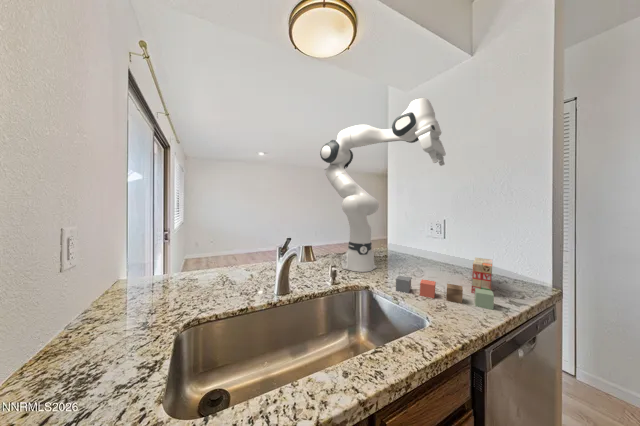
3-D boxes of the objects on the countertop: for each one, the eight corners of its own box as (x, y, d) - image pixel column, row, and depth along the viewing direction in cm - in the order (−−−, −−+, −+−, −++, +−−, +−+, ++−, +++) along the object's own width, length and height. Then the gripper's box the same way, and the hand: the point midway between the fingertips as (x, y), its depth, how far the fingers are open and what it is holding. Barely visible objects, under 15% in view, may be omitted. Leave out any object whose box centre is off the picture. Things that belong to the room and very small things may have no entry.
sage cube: (475, 306, 83) (476, 292, 82) (474, 301, 87) (475, 288, 87) (493, 310, 80) (493, 295, 80) (491, 304, 84) (491, 290, 84)
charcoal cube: (395, 291, 96) (396, 278, 96) (398, 287, 100) (398, 275, 100) (408, 293, 93) (409, 281, 93) (410, 289, 98) (411, 277, 97)
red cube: (419, 295, 91) (420, 282, 91) (421, 291, 96) (421, 279, 95) (434, 298, 89) (434, 285, 89) (435, 294, 93) (435, 281, 93)
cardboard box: (475, 279, 112) (476, 253, 111) (491, 282, 108) (493, 255, 108) (471, 293, 95) (472, 262, 94) (490, 297, 91) (492, 265, 91)
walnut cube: (446, 300, 87) (446, 287, 87) (446, 296, 91) (447, 283, 91) (462, 304, 85) (462, 290, 84) (461, 299, 89) (462, 285, 89)
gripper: (429, 142, 112) (438, 169, 109) (413, 132, 96) (423, 163, 94) (443, 135, 107) (453, 163, 105) (429, 124, 92) (440, 157, 90)
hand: (439, 163), depth 99 cm, fingers open, 8 cm apart
